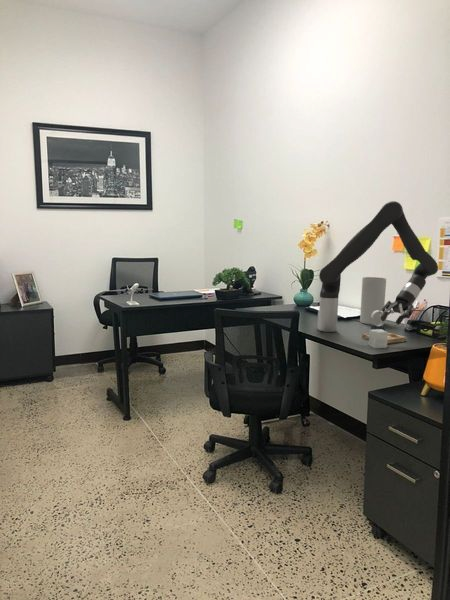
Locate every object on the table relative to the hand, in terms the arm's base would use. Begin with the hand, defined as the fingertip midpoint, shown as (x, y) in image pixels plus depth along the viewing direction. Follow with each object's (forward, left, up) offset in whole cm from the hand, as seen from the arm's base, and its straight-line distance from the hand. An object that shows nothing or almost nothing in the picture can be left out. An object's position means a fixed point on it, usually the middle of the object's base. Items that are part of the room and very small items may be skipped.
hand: (389, 321), depth 217 cm
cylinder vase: (-40, +32, -11) cm, 53 cm away
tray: (-8, +6, -11) cm, 15 cm away
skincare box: (0, -7, -11) cm, 13 cm away
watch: (-22, +17, -11) cm, 30 cm away
